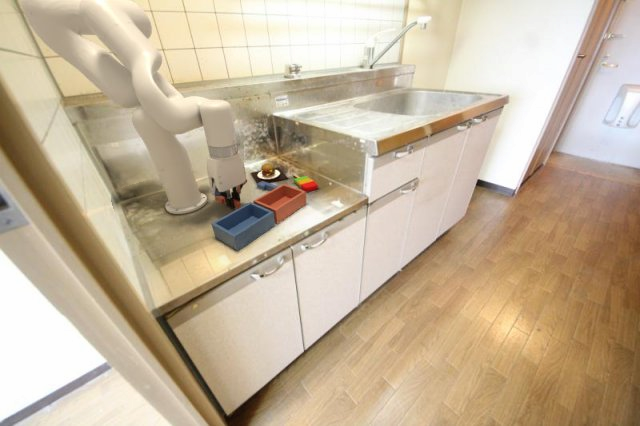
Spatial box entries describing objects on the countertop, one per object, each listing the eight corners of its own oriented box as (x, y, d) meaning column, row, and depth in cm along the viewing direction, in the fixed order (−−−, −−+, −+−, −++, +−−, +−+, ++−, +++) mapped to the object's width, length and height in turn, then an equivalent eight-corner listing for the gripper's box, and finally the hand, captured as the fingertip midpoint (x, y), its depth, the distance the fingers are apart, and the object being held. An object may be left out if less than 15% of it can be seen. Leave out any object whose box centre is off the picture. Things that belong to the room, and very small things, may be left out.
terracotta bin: (255, 213, 79) (252, 200, 77) (285, 195, 88) (283, 183, 86) (277, 223, 75) (275, 210, 72) (306, 204, 84) (305, 191, 81)
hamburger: (278, 168, 109) (277, 156, 106) (288, 179, 100) (286, 166, 97) (250, 173, 105) (248, 161, 102) (257, 185, 95) (255, 172, 92)
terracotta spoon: (215, 200, 82) (213, 194, 81) (223, 196, 84) (221, 190, 83) (235, 211, 78) (234, 204, 76) (243, 206, 80) (242, 200, 78)
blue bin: (215, 237, 70) (210, 223, 67) (253, 214, 79) (250, 201, 76) (237, 251, 65) (234, 236, 62) (275, 225, 74) (273, 211, 71)
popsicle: (305, 192, 90) (305, 188, 89) (287, 177, 101) (287, 173, 100) (319, 188, 92) (318, 184, 91) (300, 174, 103) (299, 170, 102)
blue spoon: (257, 187, 94) (256, 182, 93) (263, 184, 96) (262, 179, 95) (276, 195, 89) (276, 189, 88) (282, 191, 91) (282, 186, 90)
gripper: (237, 139, 77) (245, 192, 87) (188, 154, 66) (204, 212, 76) (254, 145, 73) (260, 200, 83) (205, 161, 62) (220, 222, 73)
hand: (233, 205), depth 80 cm, fingers closed on terracotta spoon, 1 cm apart
